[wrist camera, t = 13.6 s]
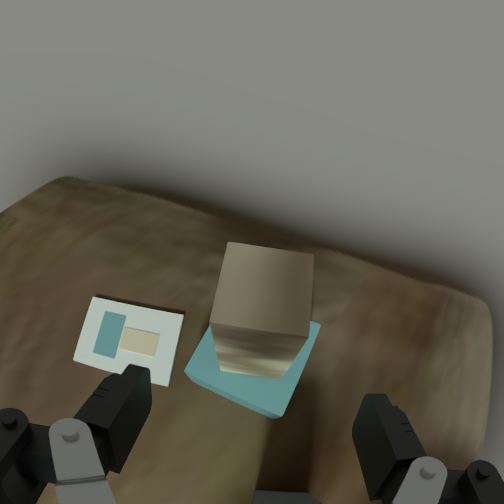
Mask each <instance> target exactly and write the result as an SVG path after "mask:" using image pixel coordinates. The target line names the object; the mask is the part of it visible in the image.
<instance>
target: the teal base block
mask: <svg viewBox="0 0 504 504" xmlns="http://www.w3.org/2000/svg"><path fill="white" fill-rule="evenodd" d="M320 326H321V325H320V324H317V323H315V322H312V321H310V331H309V338H308V339H307V341H306V342H305V344H304V346H303V347H302V349H301V350H300V352H299V353H298V355H297V356H296V358H295V360H294V361H293V363H292V364H291V366H290V367H289V369H288V370H287V372H286V373H285V375H284V376H283V378H282V379H281V380H277V379H269V378H262V377H255V376H248V375H242V374H236V373H230V372H224V371H220V366H219V362H218V358H217V354H216V349H215V345H214V341H213V336H212V332H211V327H210V325H209V327H208V329H207V331H206V333H205V334H204V336H203V338H202V340H201V341H200V343H199V345H198V347H197V349H196V350H195V352H194V354H193V356H192V357H191V359H190V361H189V363H188V365H187V366H186V368H185V370H184V371H185V373H186V374H187V375H188V376H189V378H190V379H191V380H192V381H193V382H195V383H197V384H199V385H201V386H203V387H205V388H207V389H209V390H211V391H213V392H215V393H217V394H219V395H221V396H223V397H225V398H227V399H229V400H231V401H234V402H236V403H238V404H240V405H242V406H245V407H247V408H249V409H251V410H254V411H256V412H258V413H261V414H263V415H265V416H268V417H270V418H273V419H277V418H280V417H282V416H283V414H284V412H285V409H286V407H287V405H288V403H289V401H290V398H291V396H292V394H293V392H294V389H295V387H296V385H297V383H298V380H299V378H300V376H301V373H302V371H303V369H304V366H305V364H306V361H307V359H308V357H309V354H310V352H311V349H312V347H313V344H314V342H315V339H316V337H317V334H318V331H319V329H320Z"/></svg>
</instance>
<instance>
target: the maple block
mask: <svg viewBox="0 0 504 504" xmlns="http://www.w3.org/2000/svg"><path fill="white" fill-rule="evenodd" d="M313 271H314V254H309V253H302V252H295V251H289V250H282V249H275V248H268V247H261V246H255V245H248V244H241V243H234V242H228V244H227V248H226V252H225V256H224V261H223V265H222V269H221V273H220V278H219V282H218V286H217V290H216V295H215V299H214V303H213V308H212V312H211V316H210V321H209V323H210V327H211V332H212V336H213V341H214V345H215V349H216V354H217V358H218V362H219V366H220V371H224V372H230V373H236V374H242V375H248V376H255V377H262V378H269V379H277V380H281V379H282V378H283V376H284V375H285V373H286V372H287V370H288V369H289V367H290V366H291V364H292V363H293V361H294V360H295V358H296V356H297V355H298V353H299V352H300V350H301V349H302V347H303V346H304V344H305V342H306V341H307V339H308V338H309V331H310V318H311V304H312V289H313Z"/></svg>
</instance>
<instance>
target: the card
mask: <svg viewBox="0 0 504 504" xmlns="http://www.w3.org/2000/svg"><path fill="white" fill-rule="evenodd" d="M183 321H184V315H181V314H176V313H170V312H165V311H159V310H154V309H149V308H144V307H139V306H134V305H129V304H124V303H120V302H115V301H110V300H106V299H101V298H97V297H93V298H92V301H91V304H90V307H89V310H88V313H87V316H86V319H85V322H84V325H83V328H82V331H81V334H80V338H79V341H78V344H77V348H76V351H75V355H74V358H73V360H74V361H77V362H80V363H83V364H86V365H89V366H92V367H95V368H98V369H102V370H105V371H108V372H112V373H118V374H122V372H123V371H124V370H125V368H126V367H127V366H128V365H129V364H134V365H138V366H142V367H147V368H149V369H150V375H151V383H154V384H158V385H162V386H167V387H169V385H170V381H171V376H172V371H173V366H174V361H175V357H176V352H177V347H178V343H179V338H180V334H181V330H182V325H183Z"/></svg>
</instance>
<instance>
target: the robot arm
mask: <svg viewBox="0 0 504 504" xmlns="http://www.w3.org/2000/svg"><path fill="white" fill-rule="evenodd" d="M151 405H152V393H151V375H150V369H149V368H147V367H142V366H138V365H134V364H129V365H128V366H127V367H126V368H125V370H124V371H123V372H122V374H118V373H114V374H112V375H110V376H108V377H106V378H104V380H103V381H102V382H101V383H100V385H99V386H98V388H96V390H95V391H94V392H93V394H92V395H91V396H90V397H89V398H88V400H87V401H86V402H85V403H84V405H83V406H82V407H81V409H80V410H79V411H78V412H77V414H76V415H75V416H74V417H73V418H66V419H61V420H58V421H56V422H55V423H54V424H53V425H52V426H43V425H37V424H32V423H29V421H28V419H27V416H26V415H25V414H24V413H23V412H22V411H20V410H18V409H15V408H5V409H2V410H0V504H36V503H37V501H38V499H39V497H40V495H41V494H42V492H43V490H44V488H45V487H46V485H47V483H53V484H55V490H56V494H57V498H58V502H59V504H117V503H116V501H115V499H114V496H113V494H112V491H111V489H110V486H109V484H108V481H107V479H106V476H107V474H108V472H109V470H110V471H112V472H115V473H118V474H120V472H121V470H122V468H123V465H124V463H125V461H126V459H127V457H128V455H129V453H130V451H131V449H132V447H133V445H134V443H135V441H136V439H137V437H138V435H139V433H140V431H141V429H142V427H143V425H144V423H145V421H146V419H147V417H148V415H149V413H150V410H151ZM352 438H353V441H354V445H355V448H356V452H357V455H358V459H359V462H360V466H361V470H362V473H363V477H364V481H365V484H366V488H367V492H368V495H369V499H370V501H373V500H382V504H504V482H503V480H502V478H501V476H500V474H499V473H498V471H497V469H496V468H495V467H494V466H493V465H492V464H491V463H489V462H487V461H483V460H478V461H474V462H472V463H471V464H470V465H469V466H468V467H467V469H466V470H465V471H459V470H447V469H446V467H445V465H444V464H443V463H442V462H441V461H439V460H438V459H435V458H433V457H427V455H426V453H425V451H424V449H423V447H422V445H421V443H420V441H419V439H418V437H417V435H416V433H415V432H414V430H413V428H412V426H411V425H410V422H409V420H408V418H407V416H406V414H405V413H404V412H403V411H402V410H400V409H399V408H398V407H397V406H392V405H391V403H390V401H389V399H388V397H387V395H386V394H366V395H365V396H364V398H363V401H362V403H361V406H360V408H359V411H358V413H357V416H356V418H355V421H354V423H353V428H352Z"/></svg>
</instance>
